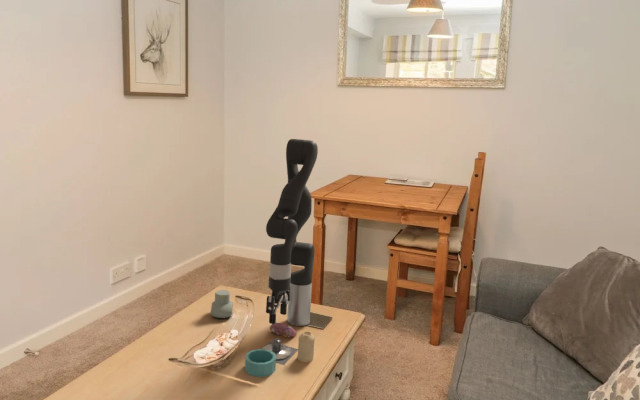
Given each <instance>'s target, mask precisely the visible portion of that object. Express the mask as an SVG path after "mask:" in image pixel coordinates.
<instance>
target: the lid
mask: <svg viewBox="0 0 640 400" xmlns="http://www.w3.org/2000/svg"><path fill="white" fill-rule="evenodd" d="M271 342H272V344H269V345H266V344H265V345H266V346H265V345H264V346H265V347H264V346H262V348H263V349H266V350H270V351H272V352H273V353H275V354H276V360H283V359H286V358H288V357H289V356H290V355H291V349H290V348H289V347H290V346H288V345H286V344H282V339H281V338H278V337H276V338H273V339H272V341H271Z"/></svg>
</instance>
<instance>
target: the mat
mask: <svg viewBox="0 0 640 400" xmlns="http://www.w3.org/2000/svg"><path fill="white" fill-rule="evenodd" d="M269 344H272V341H268V342H267V343H265V345H264V346H263V347H265V346H266V345H269ZM263 347H261V349H263ZM288 347H289V348H290V349H291V355H290V356H289V357H288V358H286V359H283V360H276V364H280V365H283V366H285V365H286V364H287V363H288V361H289V360H291V358H292V357H293V356H294V355H296V353H298V348H295V347H292V346H288Z"/></svg>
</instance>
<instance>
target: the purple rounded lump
mask: <svg viewBox="0 0 640 400" xmlns="http://www.w3.org/2000/svg"><path fill="white" fill-rule="evenodd" d="M269 330H270V331H271V332H272V333H274V334H275V335H278V336H282V337H284V338H289V337H292V338H293V337H296V336H297V333H298V332H297V330H295V329H294V328H293V326H292V325H288V324H286V323H284V322H276V323H275V324H271V325H270V326H269ZM282 333H283V334H282Z"/></svg>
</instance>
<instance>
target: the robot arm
mask: <svg viewBox="0 0 640 400" xmlns="http://www.w3.org/2000/svg"><path fill="white" fill-rule="evenodd" d="M318 153H319V148H318V144H317V142H316V141H315V140H311V139H301V138H300V139H299V138H291V139H289V140H287V144H286V147H285V158H286V159H285V161H286V172H287V173H286V174H287V183H286V184H285V185H284V187H283V189H282V190H281V193H280V197H279V200H278V202H277V203H278V204H277V206H276V208H275V209H274V211H273V213H272V215H271V216H270V217H269V219H268V221H267V223H266V225H265V231H266V234H267V236H268V237H269V238H272V239H279V240H284V242H283V243H277V244H273V245H272V246H271V248H270V257H269V258H270V260H269V267H268V288H269V289H270V290H271V295H270V296H269V295H267V296H266V305H265V313H266V314H268V315H269V317H268V319H269V320H268V322H269V324H271V325H272V324H275V323H277V312H278V311H277V310H278V309H279V313H280V315H283V316H284V315H287V316H286V317H287V319H286V320H287V321H286V322H287V323H288V324H290V326H296V327H303V326H307V325H308V324H309V325H310V322H311V307H312V286H313V272H314V262H315V255H316V254H315V253H316V252H315V246H314V244H313V243H310V242H309V243H308V242H300V241H297V237H298V234H299V233H300V231H301V230H302V228H303V227H304V225H305V224H306V223H307V222H308V220H309V218H310V217H311V215H312V205H313V204H312V201H313V198H312V194H311V193H310V190H309V189H308V187H307V185H306V184H307V183H308V181H309V178H310V176H311V174H312V172H313V169H314V167H315V165H316V161H317V159H318ZM298 165H300V166H302V167H301V168H300V169H299V167H298ZM286 217H287V218H286ZM292 266H298V267H299V266H300V267H303V268H302V269H300V270H295V271H293V272H292Z"/></svg>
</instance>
